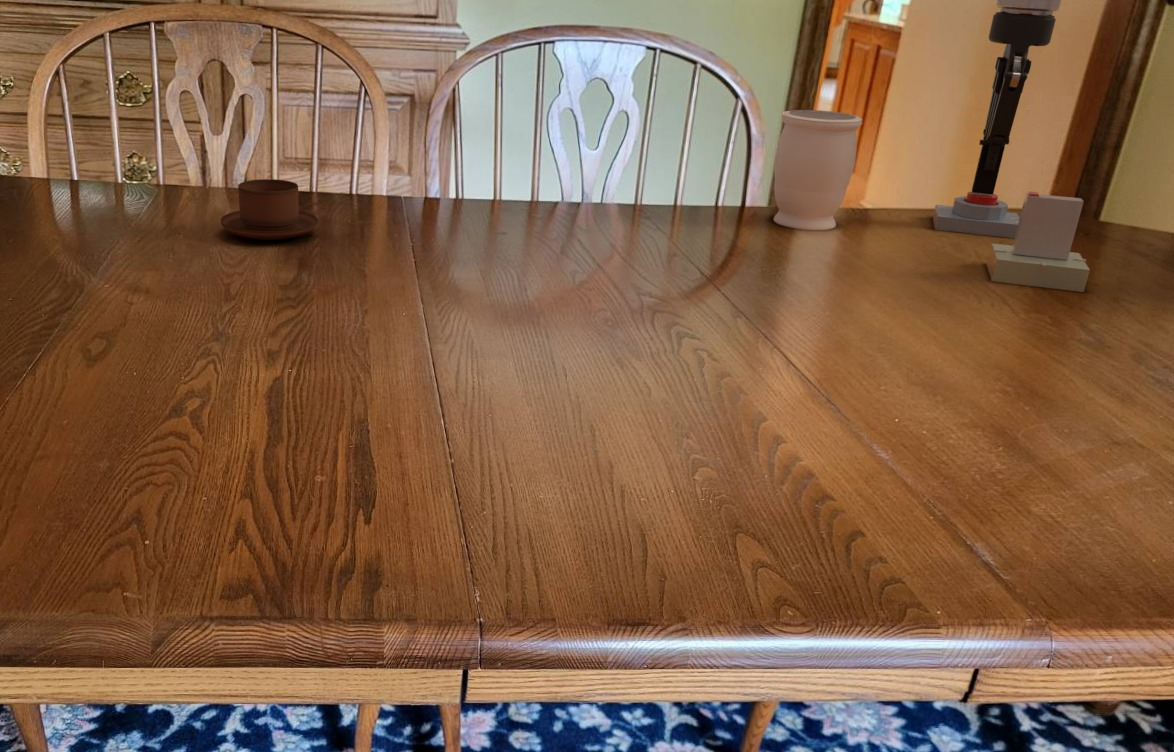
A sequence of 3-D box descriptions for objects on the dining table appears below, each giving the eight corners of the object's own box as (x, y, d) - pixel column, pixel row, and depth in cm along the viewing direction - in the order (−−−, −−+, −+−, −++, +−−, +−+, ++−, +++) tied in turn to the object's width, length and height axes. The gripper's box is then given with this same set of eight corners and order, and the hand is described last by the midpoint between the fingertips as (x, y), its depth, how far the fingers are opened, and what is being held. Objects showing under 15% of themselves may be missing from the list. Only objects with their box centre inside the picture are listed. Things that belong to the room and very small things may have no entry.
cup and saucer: (205, 229, 140) (202, 180, 137) (289, 219, 146) (288, 172, 144) (248, 251, 131) (245, 199, 128) (335, 239, 138) (335, 190, 135)
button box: (1013, 228, 158) (1020, 200, 157) (1019, 240, 151) (1026, 211, 150) (932, 219, 161) (938, 192, 160) (934, 231, 154) (940, 203, 153)
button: (993, 205, 156) (996, 193, 155) (996, 211, 153) (999, 198, 152) (963, 202, 157) (966, 190, 156) (965, 208, 154) (968, 195, 153)
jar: (787, 234, 149) (805, 120, 143) (752, 216, 158) (768, 108, 152) (857, 233, 152) (878, 121, 145) (819, 215, 161) (837, 109, 154)
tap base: (1072, 274, 136) (1079, 249, 135) (1085, 297, 128) (1093, 270, 126) (984, 264, 139) (990, 239, 138) (990, 285, 130) (997, 259, 129)
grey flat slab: (1065, 256, 132) (1081, 196, 129) (1067, 260, 130) (1084, 199, 127) (1011, 250, 134) (1026, 190, 131) (1013, 254, 132) (1028, 193, 129)
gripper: (990, 7, 151) (951, 181, 161) (999, 12, 139) (956, 198, 150) (1050, 11, 149) (1006, 186, 159) (1063, 16, 137) (1015, 205, 147)
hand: (982, 192), depth 154 cm, fingers closed
